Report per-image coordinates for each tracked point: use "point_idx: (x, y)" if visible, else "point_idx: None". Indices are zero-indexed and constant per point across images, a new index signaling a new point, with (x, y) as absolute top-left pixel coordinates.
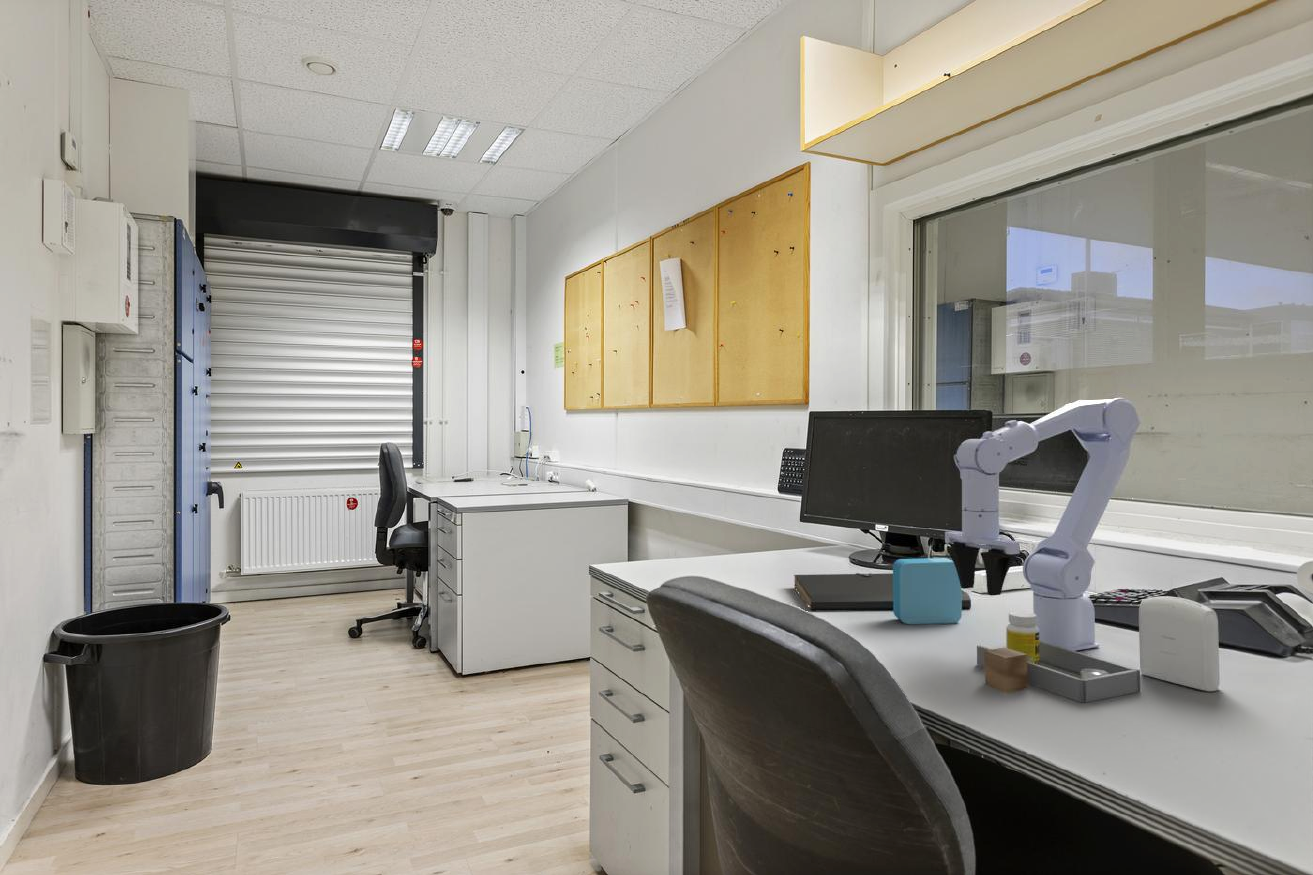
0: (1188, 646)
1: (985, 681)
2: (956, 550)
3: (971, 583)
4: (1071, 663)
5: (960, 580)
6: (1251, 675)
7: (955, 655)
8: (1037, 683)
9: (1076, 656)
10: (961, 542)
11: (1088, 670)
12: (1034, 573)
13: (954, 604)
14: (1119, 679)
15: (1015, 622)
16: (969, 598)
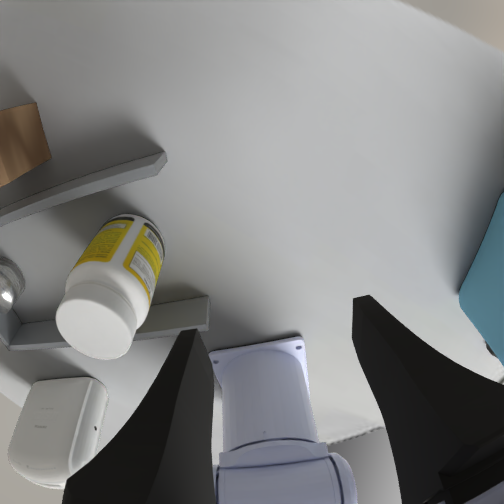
0: (26, 421)
1: (31, 103)
2: (457, 449)
3: (358, 346)
4: None
5: (380, 314)
6: (105, 440)
7: (257, 140)
8: (15, 203)
9: None
10: (476, 498)
11: (1, 293)
12: (305, 484)
13: (480, 311)
14: None
15: (73, 287)
16: (494, 355)
